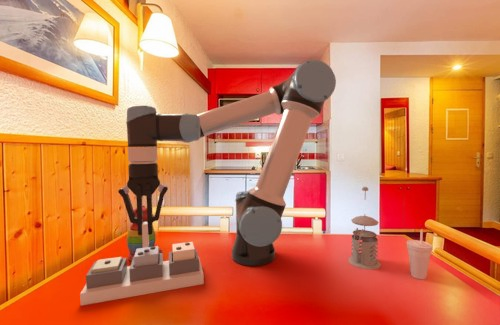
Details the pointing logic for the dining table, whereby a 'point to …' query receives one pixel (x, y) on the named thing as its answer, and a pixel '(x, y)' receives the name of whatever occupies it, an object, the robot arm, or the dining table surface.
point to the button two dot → (183, 251)
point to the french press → (364, 243)
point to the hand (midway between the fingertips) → (145, 245)
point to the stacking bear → (138, 236)
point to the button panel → (141, 279)
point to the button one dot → (107, 264)
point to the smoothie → (419, 257)
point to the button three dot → (146, 256)
